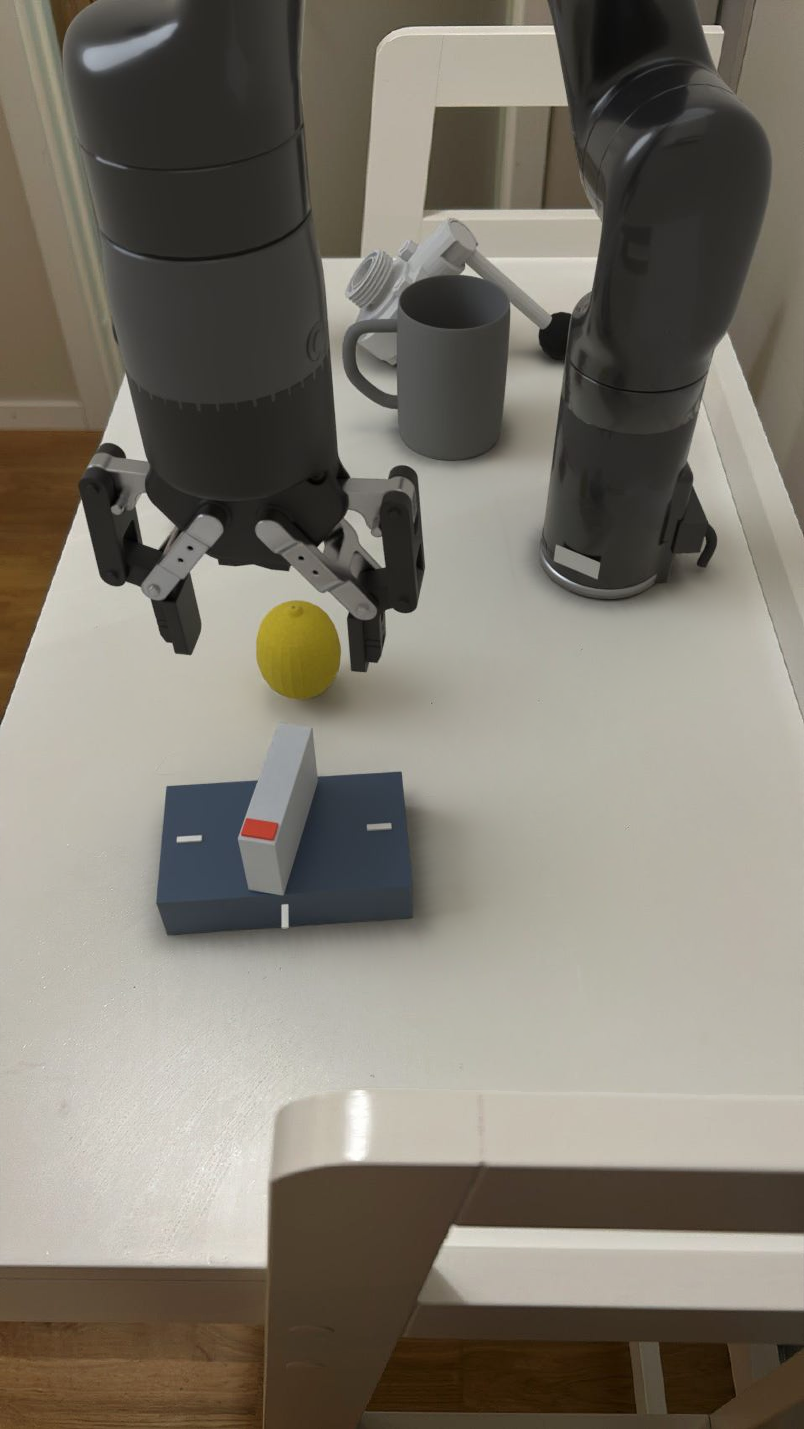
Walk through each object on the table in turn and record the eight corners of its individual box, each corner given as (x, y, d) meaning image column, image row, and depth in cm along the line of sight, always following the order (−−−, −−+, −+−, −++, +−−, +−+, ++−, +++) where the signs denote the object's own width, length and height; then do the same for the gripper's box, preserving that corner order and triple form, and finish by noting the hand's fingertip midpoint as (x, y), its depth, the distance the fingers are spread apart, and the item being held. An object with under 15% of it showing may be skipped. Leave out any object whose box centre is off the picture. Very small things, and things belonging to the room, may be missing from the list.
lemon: (252, 677, 72) (238, 591, 66) (327, 654, 74) (319, 568, 68) (277, 733, 69) (265, 648, 63) (355, 708, 71) (350, 622, 64)
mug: (498, 402, 95) (508, 273, 85) (504, 462, 89) (515, 331, 79) (348, 402, 95) (342, 273, 86) (343, 462, 89) (336, 331, 80)
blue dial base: (399, 778, 67) (399, 742, 64) (415, 951, 59) (416, 918, 56) (178, 792, 66) (168, 756, 63) (164, 968, 58) (152, 936, 55)
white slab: (285, 775, 62) (277, 718, 58) (318, 780, 62) (312, 723, 58) (248, 890, 57) (236, 836, 53) (283, 896, 57) (274, 842, 53)
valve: (480, 462, 104) (594, 368, 95) (321, 342, 95) (430, 224, 85) (483, 397, 111) (591, 303, 101) (334, 279, 101) (437, 162, 91)
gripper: (434, 299, 39) (432, 611, 52) (74, 277, 41) (156, 585, 53) (403, 411, 35) (409, 726, 47) (-2, 381, 36) (106, 693, 49)
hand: (274, 651), depth 50 cm, fingers open, 8 cm apart
